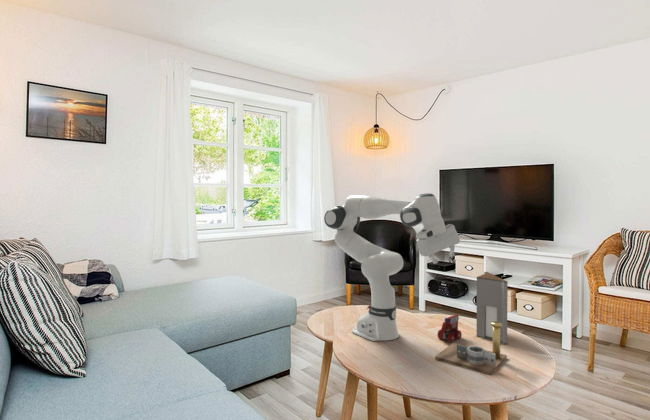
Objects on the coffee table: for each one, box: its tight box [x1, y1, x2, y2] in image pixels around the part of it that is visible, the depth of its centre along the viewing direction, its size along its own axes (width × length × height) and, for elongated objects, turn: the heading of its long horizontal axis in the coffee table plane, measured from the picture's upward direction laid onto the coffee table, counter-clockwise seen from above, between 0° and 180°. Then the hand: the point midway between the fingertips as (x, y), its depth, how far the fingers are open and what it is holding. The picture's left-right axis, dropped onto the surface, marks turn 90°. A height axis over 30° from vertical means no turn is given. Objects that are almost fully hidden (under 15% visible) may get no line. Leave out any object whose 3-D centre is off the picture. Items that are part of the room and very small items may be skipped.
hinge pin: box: [491, 321, 502, 359], centre depth 157 cm, size 4×4×14 cm
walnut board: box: [434, 342, 508, 376], centre depth 159 cm, size 22×19×1 cm
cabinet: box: [476, 271, 509, 346], centre depth 183 cm, size 21×10×28 cm, turn 0°
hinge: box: [457, 345, 496, 367], centre depth 153 cm, size 15×6×5 cm, turn 50°
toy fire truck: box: [437, 314, 462, 343], centre depth 181 cm, size 7×12×10 cm, turn 128°
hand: (444, 259), depth 171 cm, fingers open, 8 cm apart
